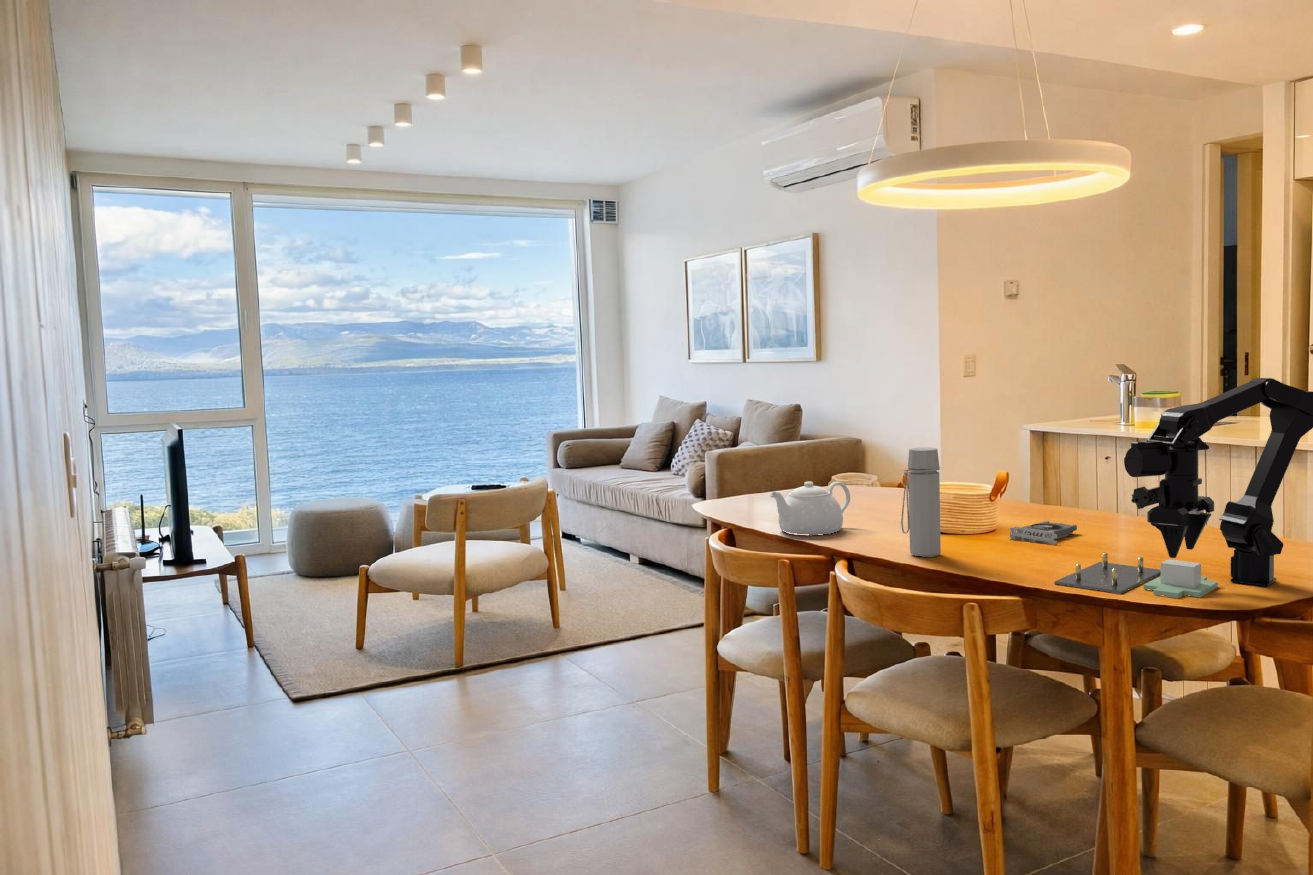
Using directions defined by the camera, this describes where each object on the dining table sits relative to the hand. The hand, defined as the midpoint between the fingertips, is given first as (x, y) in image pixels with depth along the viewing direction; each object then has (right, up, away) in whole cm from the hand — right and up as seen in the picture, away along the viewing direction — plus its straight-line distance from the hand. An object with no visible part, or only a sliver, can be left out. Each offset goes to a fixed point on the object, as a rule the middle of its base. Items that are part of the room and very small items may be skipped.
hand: (1181, 553), depth 190 cm
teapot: (-60, -3, +75) cm, 96 cm away
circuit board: (0, -7, +1) cm, 7 cm away
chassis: (-9, -6, +10) cm, 15 cm away
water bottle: (-40, -5, +40) cm, 57 cm away
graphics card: (-4, -3, +53) cm, 54 cm away
